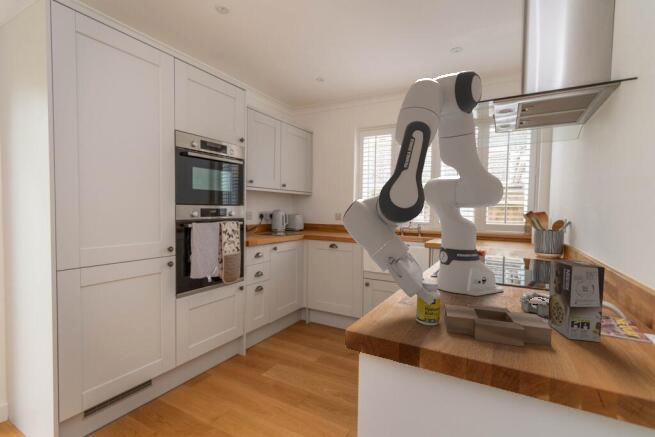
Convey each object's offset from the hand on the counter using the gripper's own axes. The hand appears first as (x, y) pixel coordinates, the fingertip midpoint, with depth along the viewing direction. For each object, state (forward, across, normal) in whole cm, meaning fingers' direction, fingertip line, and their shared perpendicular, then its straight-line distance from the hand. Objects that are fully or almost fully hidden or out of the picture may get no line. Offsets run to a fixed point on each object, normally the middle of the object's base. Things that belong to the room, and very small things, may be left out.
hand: (431, 298), depth 74 cm
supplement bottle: (+4, 0, +5) cm, 6 cm away
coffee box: (+26, +6, -18) cm, 32 cm away
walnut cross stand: (+14, 0, -5) cm, 15 cm away
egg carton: (+25, +22, -16) cm, 37 cm away
